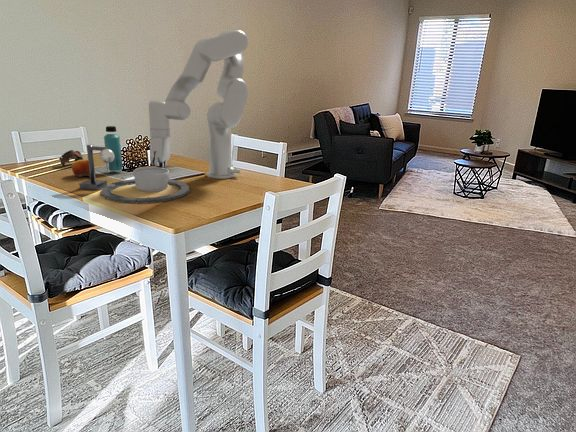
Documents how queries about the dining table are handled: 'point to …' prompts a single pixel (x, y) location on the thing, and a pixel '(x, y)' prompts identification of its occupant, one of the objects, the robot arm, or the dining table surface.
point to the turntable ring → (109, 195)
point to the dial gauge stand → (92, 183)
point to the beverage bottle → (113, 148)
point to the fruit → (81, 168)
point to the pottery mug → (70, 156)
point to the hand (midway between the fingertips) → (162, 177)
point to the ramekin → (151, 178)
